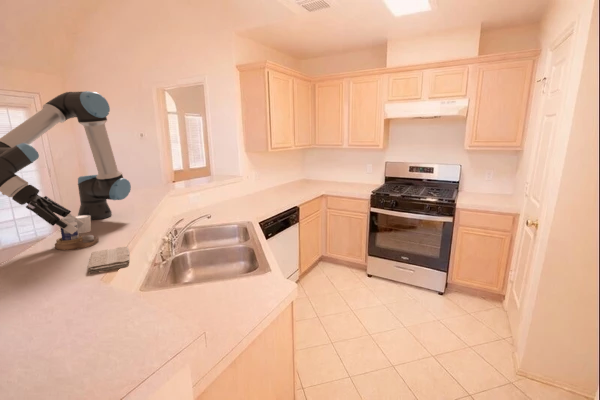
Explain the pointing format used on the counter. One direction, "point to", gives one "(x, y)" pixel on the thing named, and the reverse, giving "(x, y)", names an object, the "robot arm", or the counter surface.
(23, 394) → the counter surface
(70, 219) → the pill bottle
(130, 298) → the counter surface
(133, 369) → the counter surface
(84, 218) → the white cup
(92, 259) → the washcloth
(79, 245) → the fire pit
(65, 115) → the robot arm
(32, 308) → the counter surface
